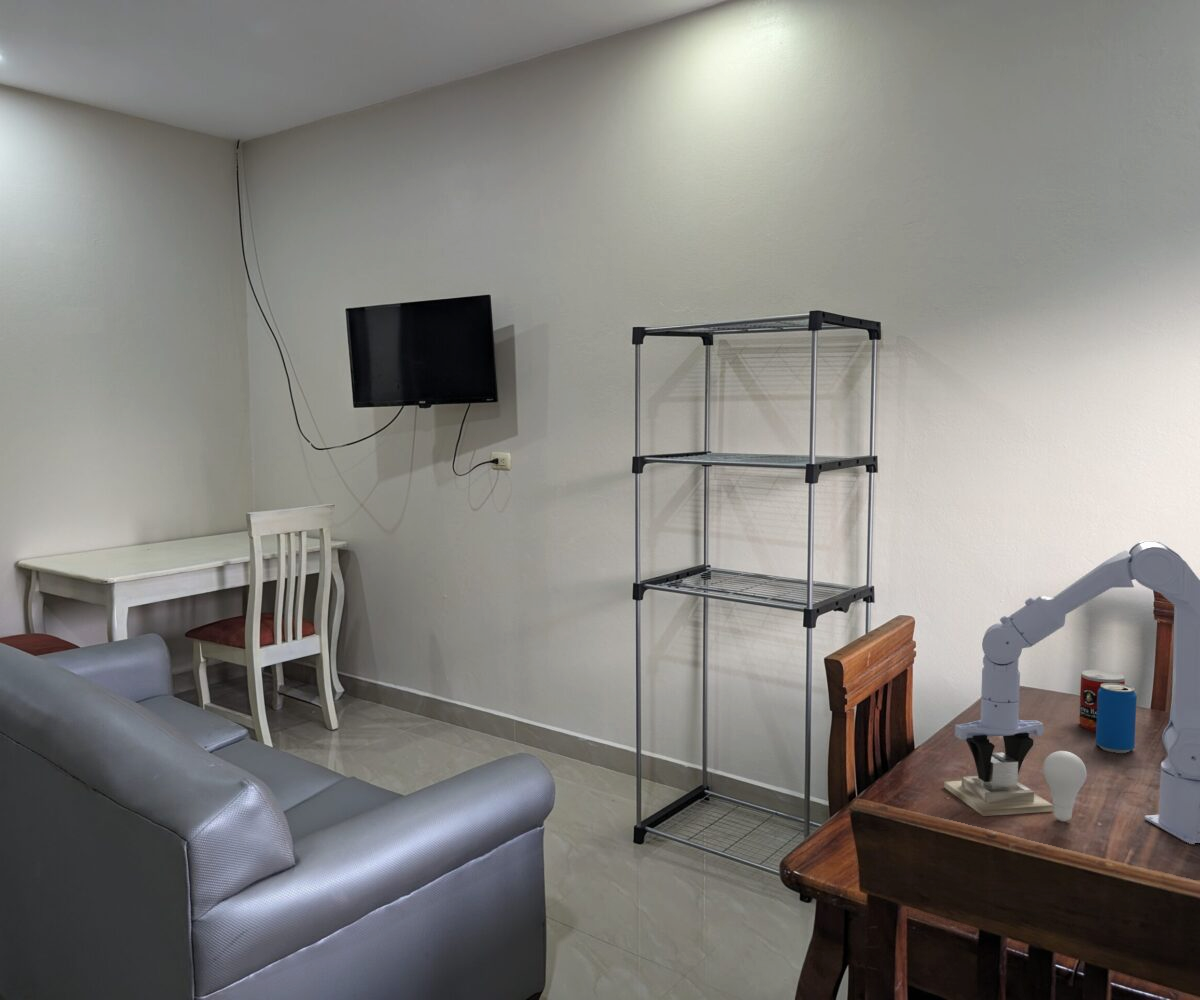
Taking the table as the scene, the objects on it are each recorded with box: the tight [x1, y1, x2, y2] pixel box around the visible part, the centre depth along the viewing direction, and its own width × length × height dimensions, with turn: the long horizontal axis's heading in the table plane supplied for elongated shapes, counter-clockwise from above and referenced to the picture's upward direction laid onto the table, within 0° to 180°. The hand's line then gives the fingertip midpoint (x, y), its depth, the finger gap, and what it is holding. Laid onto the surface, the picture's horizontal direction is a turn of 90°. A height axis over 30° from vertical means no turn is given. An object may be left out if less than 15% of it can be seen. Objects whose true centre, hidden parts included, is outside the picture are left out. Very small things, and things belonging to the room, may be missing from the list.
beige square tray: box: [943, 775, 1054, 817], centre depth 156 cm, size 12×12×2 cm
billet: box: [977, 751, 1019, 792], centre depth 155 cm, size 4×4×5 cm
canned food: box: [1078, 669, 1126, 732], centre depth 192 cm, size 8×8×11 cm
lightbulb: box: [1042, 750, 1087, 822], centre depth 147 cm, size 6×6×11 cm
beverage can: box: [1095, 683, 1138, 754], centre depth 179 cm, size 6×6×12 cm
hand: (997, 778), depth 155 cm, fingers closed on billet, 4 cm apart
